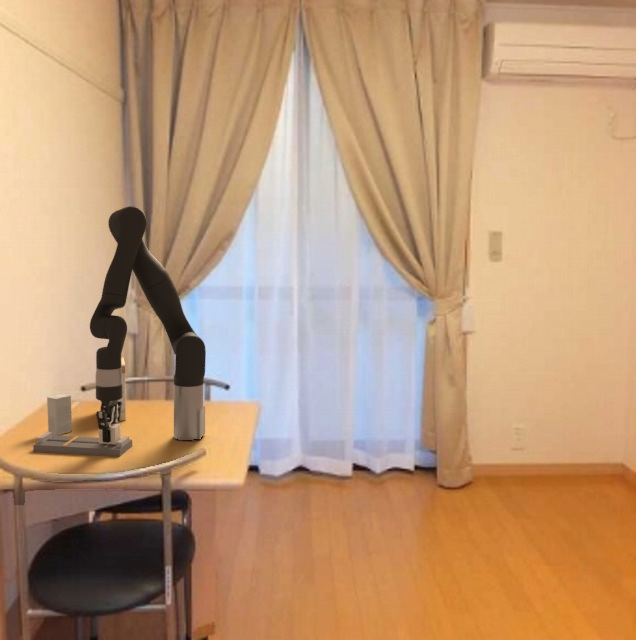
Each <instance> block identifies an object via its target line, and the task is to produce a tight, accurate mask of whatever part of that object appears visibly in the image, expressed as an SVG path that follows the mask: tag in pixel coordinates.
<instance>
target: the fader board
mask: <svg viewBox="0 0 636 640" xmlns="http://www.w3.org/2000/svg"><path fill="white" fill-rule="evenodd" d="M36 439H37V442H35V443H34V444H32V445H33V447H32V449H33V452H36V453H37V452H38V453H53V454H57V453H59V454H68V455H69V454H71V455H74V454H75V455H76V454H77V455H90V456H104V457H105V456H108V457H121V456H122V455H124V454H125V453H126V452H127V451H128V450H129V449H131V448H132V447H133V439H132V438H130V436H127V435H126V436H124V435H123V436H122V437H120V440H119V441H117V442H116V444H99V437H94V436H93V437H92V436H74V435H52V432H48V431H47V432H44V433H43V434H41V435H39V436H38V437H37V438H36Z"/></svg>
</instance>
